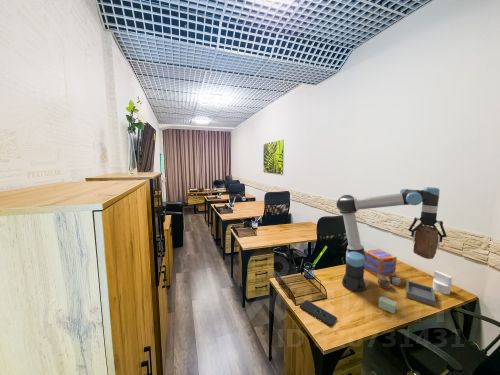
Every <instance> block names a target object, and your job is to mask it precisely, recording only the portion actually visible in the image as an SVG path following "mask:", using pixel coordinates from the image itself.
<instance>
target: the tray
mask: <svg viewBox="0 0 500 375" xmlns="http://www.w3.org/2000/svg"><path fill="white" fill-rule="evenodd" d="M405 286H406V289H405V292H406V293H405V296H406V297H405V298H408V299H411V300H415V301H418V302H420V303H423V304H426V305H430V306H433V307H435V306H436V298H435V292H434V291H435V290H434V289H433V288H432V287H431V286H429V285H425V284H421V283H418V282H414V281H411V280H408V279H407V280H406V285H405Z"/></svg>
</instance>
